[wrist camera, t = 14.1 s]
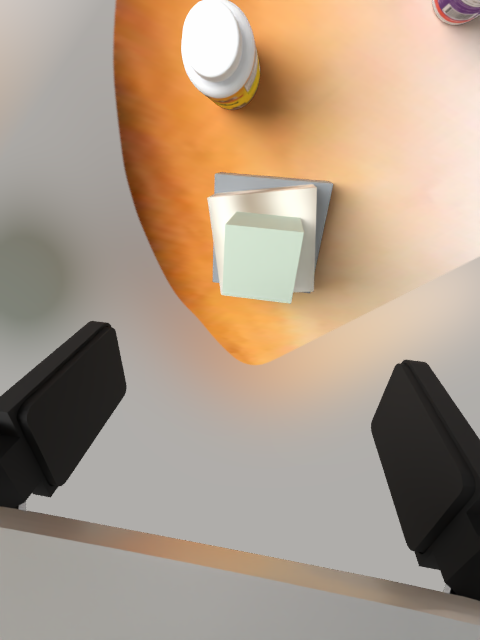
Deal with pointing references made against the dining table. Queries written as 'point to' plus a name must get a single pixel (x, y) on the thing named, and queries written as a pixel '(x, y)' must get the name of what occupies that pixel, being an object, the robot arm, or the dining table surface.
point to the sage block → (261, 256)
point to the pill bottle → (456, 10)
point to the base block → (252, 182)
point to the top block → (270, 202)
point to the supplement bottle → (221, 53)
